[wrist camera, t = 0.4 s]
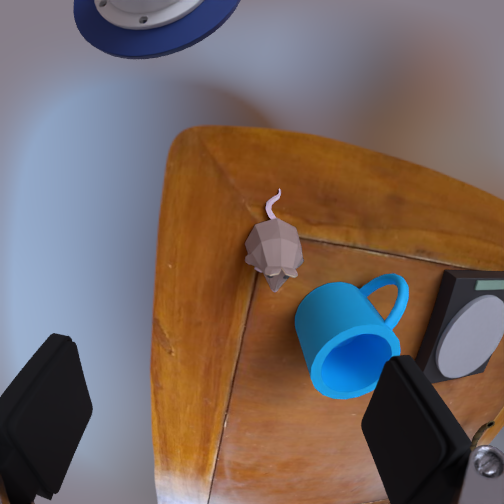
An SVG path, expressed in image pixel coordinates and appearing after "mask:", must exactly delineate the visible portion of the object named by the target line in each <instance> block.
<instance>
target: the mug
mask: <svg viewBox="0 0 504 504" xmlns="http://www.w3.org/2000/svg"><path fill="white" fill-rule="evenodd" d="M389 284H394V285H396V286H397V288H398V296H397V299H396V302H395V305H394V307H393V309H392V311H391V312H390V314H389V316H388V317H387V318H386V320H384V319H383V318H382V317H381V315H380V314H379V313H378V311H377V310H376V309H375V308H374V306H373V305H372V304H371V302H370V301H369V300H368V299H367V296H369V295H370V294H371V293H372V292H374V291H375V290H377V289H378V288H380V287H383V286H385V285H389ZM408 298H409V289H408V285H407V283H406V281H405V280H404V278H403V277H401V276H399V275H397V274H394V273H393V274H384V275H381V276H379V277H377V278H374V279H373V280H371V281H370V282H368V283H367V284H365V285H364V286H363V287H362V288H360V289H359V288H357V287H355V286H354V285H352V284H349V283H344V282H334V283H327V284H325V285H322V286H320V287H318V288H316V289H314V290H313V291H312V292H310V293H309V294H308V295H307V296H306V297H305V298H304V299H303V301H302V302H301V303H300V305H299V306H298V309H297V312H296V315H295V329H296V332H297V335H298V338H299V341H300V345H301V348H302V351H303V354H304V358H305V361H306V364H307V367H308V371H309V374H310V377H311V380H312V382H313V385H314V387H315V388H316V389H317V390H318V391H319V392H320V393H321V394H322V395H325V396H327V397H330V398H333V399H349V398H355V397H359V396H361V395H364V394H366V393H368V392H371V391H372V390H374V389H375V388H376V385H377V383H378V380H379V378H380V375H381V372H382V370H383V367H384V364H385V363H386V361H389V360H390V358H391V357H392V356H400V352H401V350H400V343H399V340H398V338H397V337H396V335H395V334H394V332H393V331H392V329H393V328H394V327H395V326H396V325H397V323H398V322H399V320H400V318H401V316H402V315H403V313H404V311H405V308H406V305H407V302H408Z"/></svg>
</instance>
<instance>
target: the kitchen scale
mask: <svg viewBox="0 0 504 504" xmlns="http://www.w3.org/2000/svg"><path fill="white" fill-rule="evenodd" d="M503 333H504V271H471V270H445V271H444V275H443V278H442V282H441V286H440V289H439V293H438V296H437V299H436V303H435V306H434V309H433V312H432V315H431V318H430V321H429V324H428V327H427V330H426V333H425V336H424V339H423V341H422V344H421V347H420V350H419V352H418V355H417V357H416V360H415V362H416V364H417V365H418V366H419V368H420V369H421V370H422V372H423V373H424V375H425V376H426V377H427V379H428V380H429V381H430V383H437V382H442V381H447V380H452V379H456V378H461V377H465V376H470V375H474V374H478V373H482V372H484V370H485V368H486V366H487V364H488V362H489V359H490V357H491V355H492V353H493V352H494V350H495V349H496V347H497V346H498V344H499V342H500V340H501V338H502V336H503Z"/></svg>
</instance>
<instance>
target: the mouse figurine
mask: <svg viewBox="0 0 504 504" xmlns="http://www.w3.org/2000/svg"><path fill="white" fill-rule="evenodd" d="M280 194H281V190H280V188H279V193H278V194H277V195H276V196H273V197H272V198H271V199H269V200H268V201H267V203H266V208H265V209H266V211H267V214H268V216H269V218H270V219H271V220H268V221H265V222H262V223H258V224H255V226H254V228H253V230H252V231H251V233H250V235H249V237H248V239H247V241H246V242H245V246H246V249H247V252H248V255H247V256H246V258H245V261H246V263H248V264H249V265H250V264H251V265H253V266H255V268H254V269H255V270H257V271H259V272H261V273H262V272H263V274H264V276H265V278H266V280H267V282H268V284H269V286H270V288H271V290H272V291H273V292H276V291H278V289H279V288H280V287H281V285H282V284H283V283H284V282H285V281H286V280H287V279H288V278H289V277H290V276H291V277H293V278H295V277H297V276H298V274H297V271H296V268H298V267H299V266H300V265H301V264H302V263H303V262H304V259H303V257H302V248H301V244H300V240H299V237H298V233H297V229H296V228H295V227H293V226H291V225H290V224H288V223H286V222H284V221H282V220H280V219H278V218H276V217H275V215H274V214H273V213H272V210H271V206H272V204H273V203H274V202H275V201H277V200H278V199H279V198H280Z"/></svg>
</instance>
